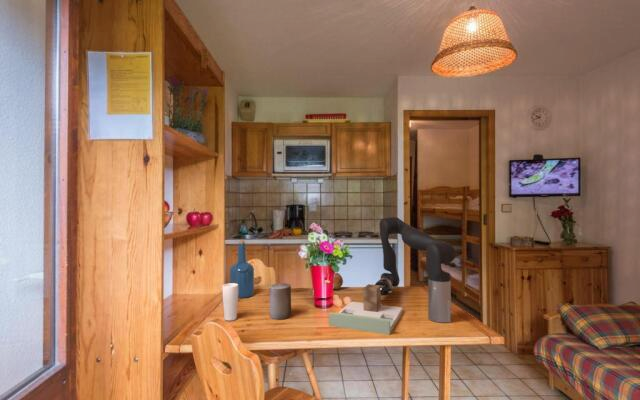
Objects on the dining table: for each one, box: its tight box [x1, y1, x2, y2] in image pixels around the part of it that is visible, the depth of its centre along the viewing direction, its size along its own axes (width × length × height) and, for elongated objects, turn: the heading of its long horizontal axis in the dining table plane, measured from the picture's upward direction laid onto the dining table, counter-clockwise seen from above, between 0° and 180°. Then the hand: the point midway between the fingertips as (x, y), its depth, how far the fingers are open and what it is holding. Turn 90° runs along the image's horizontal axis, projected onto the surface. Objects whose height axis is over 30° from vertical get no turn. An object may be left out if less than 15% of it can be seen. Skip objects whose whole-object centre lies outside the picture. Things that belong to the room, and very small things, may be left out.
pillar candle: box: [268, 282, 292, 321], centre depth 153 cm, size 10×10×15 cm
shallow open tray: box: [328, 301, 404, 336], centre depth 149 cm, size 25×30×5 cm
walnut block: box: [363, 284, 382, 312], centre depth 157 cm, size 6×8×10 cm
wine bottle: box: [228, 240, 255, 299], centre depth 186 cm, size 14×13×30 cm
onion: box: [333, 272, 344, 291], centre depth 199 cm, size 10×10×10 cm
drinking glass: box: [222, 282, 239, 322], centre depth 149 cm, size 7×7×15 cm
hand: (375, 294), depth 162 cm, fingers closed
